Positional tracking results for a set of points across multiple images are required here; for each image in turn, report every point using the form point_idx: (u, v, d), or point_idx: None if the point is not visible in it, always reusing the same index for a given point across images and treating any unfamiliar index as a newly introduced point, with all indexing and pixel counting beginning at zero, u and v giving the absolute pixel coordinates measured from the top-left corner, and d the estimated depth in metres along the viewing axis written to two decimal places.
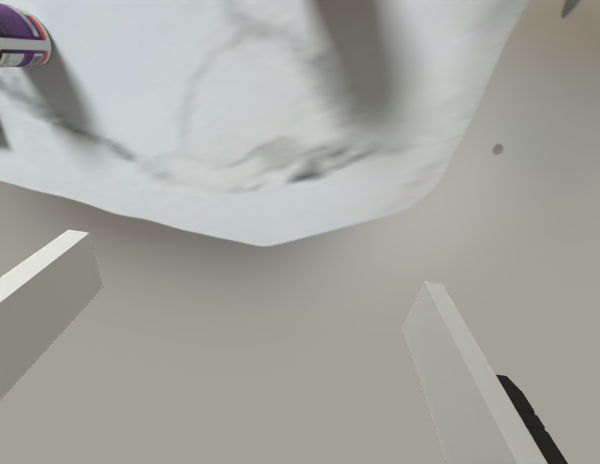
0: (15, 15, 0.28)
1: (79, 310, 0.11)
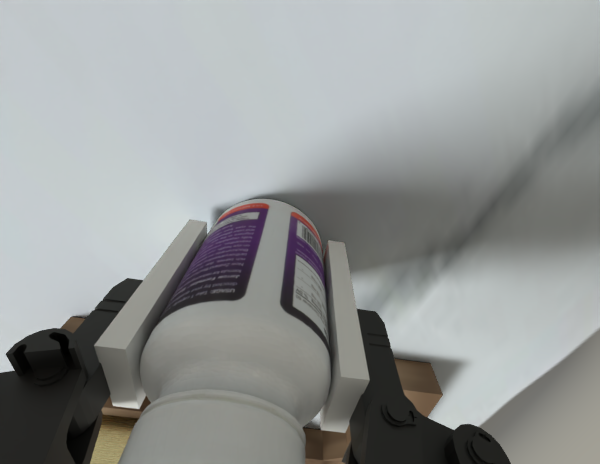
0: (211, 239, 0.11)
1: None
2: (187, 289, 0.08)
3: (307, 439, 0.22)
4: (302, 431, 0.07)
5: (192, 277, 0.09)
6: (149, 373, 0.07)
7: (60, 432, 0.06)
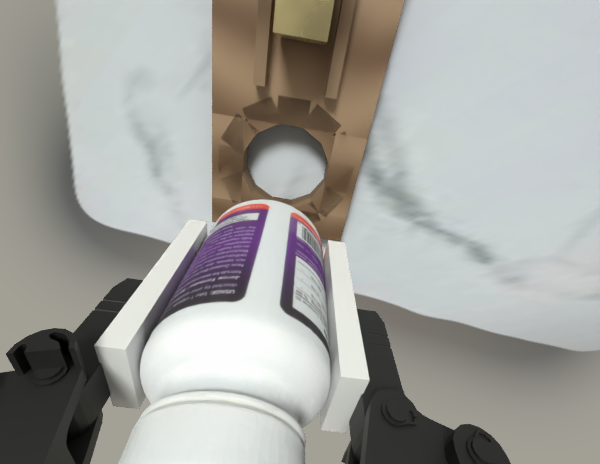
0: (211, 240, 0.11)
1: None
2: (187, 290, 0.08)
3: (246, 155, 0.25)
4: (302, 432, 0.07)
5: (193, 278, 0.09)
6: (149, 373, 0.07)
7: (60, 432, 0.06)
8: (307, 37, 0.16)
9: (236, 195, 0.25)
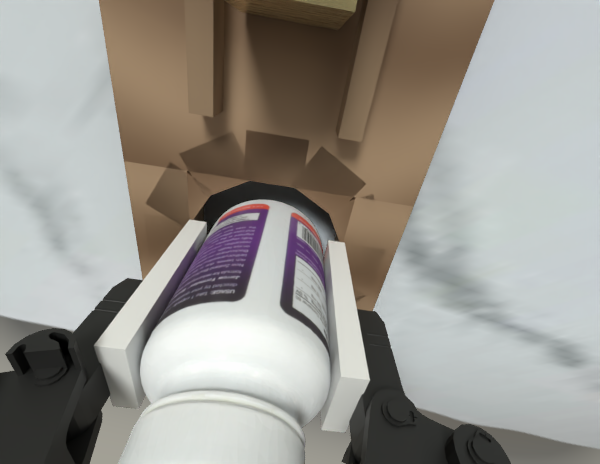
0: (211, 240, 0.11)
1: None
2: (187, 290, 0.08)
3: None
4: (302, 432, 0.07)
5: (193, 278, 0.09)
6: (149, 373, 0.07)
7: (60, 432, 0.06)
8: None
9: None
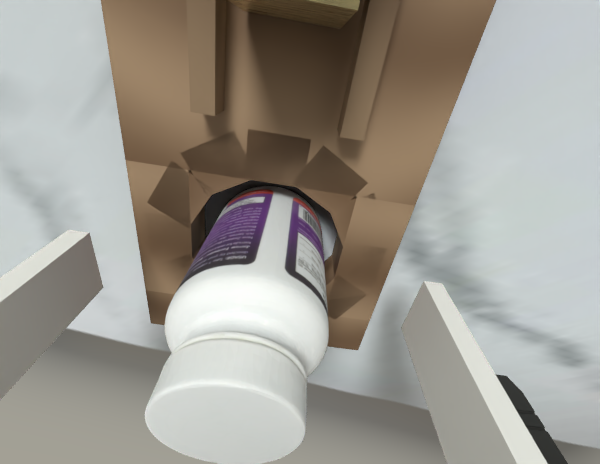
0: (222, 220, 0.12)
1: (79, 310, 0.11)
2: (204, 258, 0.09)
3: (200, 223, 0.15)
4: (304, 371, 0.08)
5: (208, 249, 0.10)
6: (174, 326, 0.09)
7: None
8: None
9: None
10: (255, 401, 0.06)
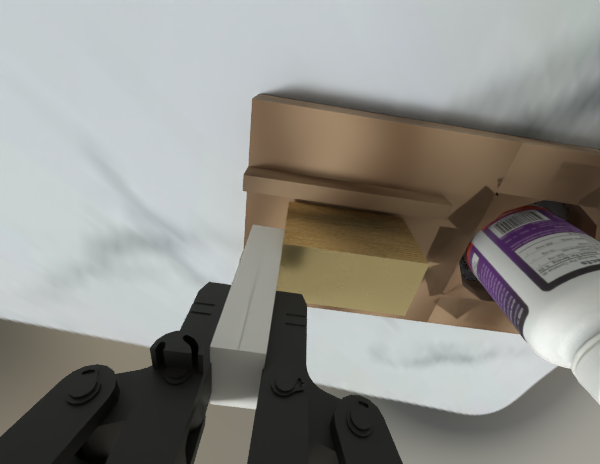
0: (485, 287, 0.17)
1: None
2: (513, 324, 0.14)
3: (481, 288, 0.20)
4: None
5: (507, 316, 0.15)
6: (560, 364, 0.13)
7: (184, 436, 0.06)
8: (418, 284, 0.12)
9: None
10: None
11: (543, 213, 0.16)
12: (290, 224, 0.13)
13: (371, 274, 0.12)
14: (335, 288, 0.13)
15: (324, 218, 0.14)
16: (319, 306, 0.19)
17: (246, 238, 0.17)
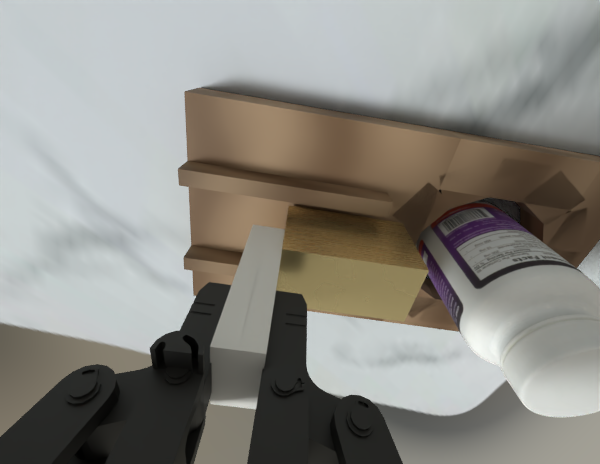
0: None
1: None
2: None
3: None
4: (565, 317, 0.10)
5: (450, 314, 0.15)
6: (495, 363, 0.13)
7: (184, 436, 0.06)
8: (417, 290, 0.12)
9: None
10: (555, 370, 0.09)
11: (490, 211, 0.15)
12: (290, 229, 0.13)
13: (370, 280, 0.12)
14: (334, 294, 0.13)
15: (324, 223, 0.14)
16: None
17: (193, 234, 0.16)
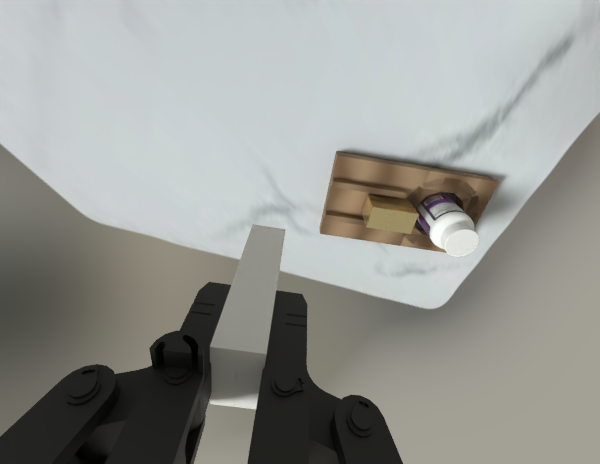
0: (422, 226, 0.42)
1: None
2: None
3: (424, 230, 0.45)
4: (457, 224, 0.35)
5: (427, 234, 0.40)
6: (441, 246, 0.38)
7: (184, 436, 0.06)
8: (415, 221, 0.38)
9: None
10: (452, 237, 0.35)
11: (442, 196, 0.41)
12: (372, 201, 0.38)
13: (400, 217, 0.37)
14: (387, 223, 0.38)
15: (382, 200, 0.39)
16: (353, 237, 0.44)
17: (327, 206, 0.42)
